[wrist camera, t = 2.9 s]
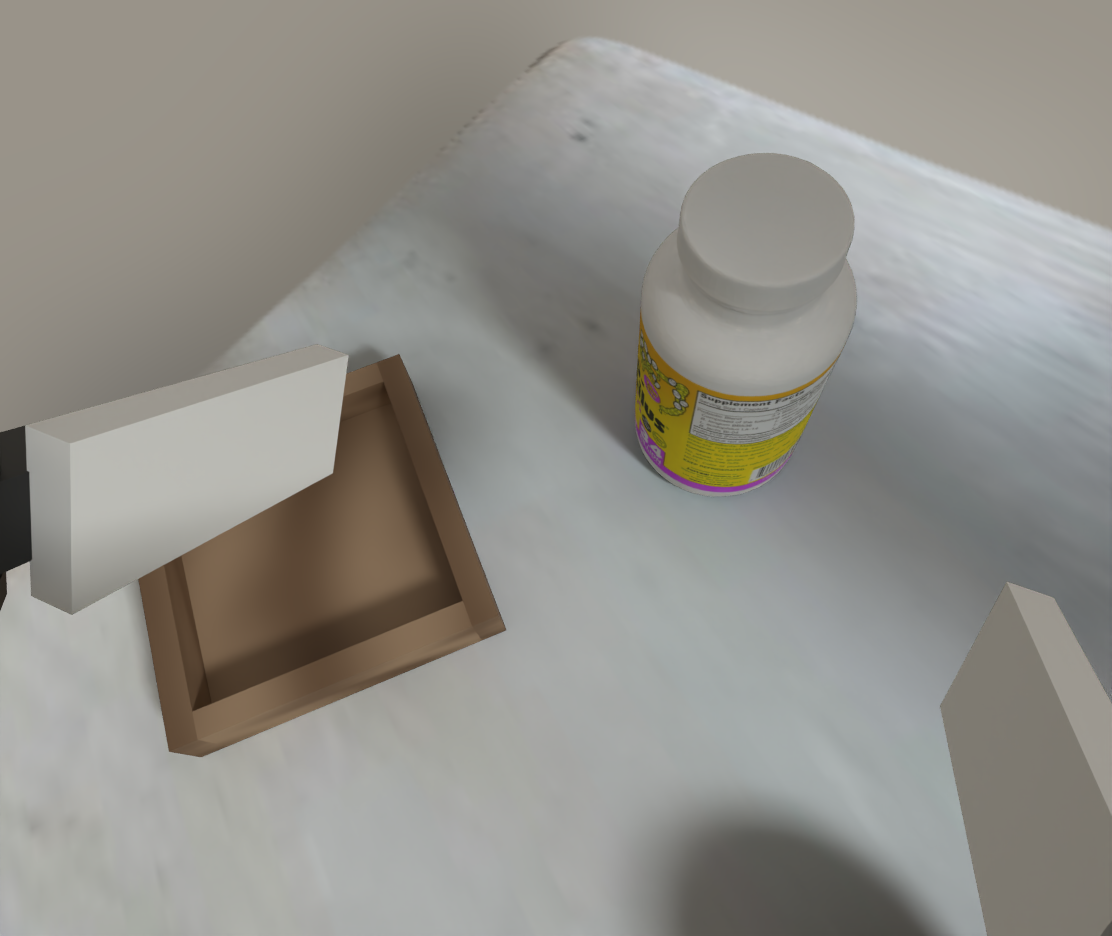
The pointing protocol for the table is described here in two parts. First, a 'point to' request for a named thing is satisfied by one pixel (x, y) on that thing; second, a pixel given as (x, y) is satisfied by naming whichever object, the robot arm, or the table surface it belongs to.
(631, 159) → the table surface
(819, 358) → the supplement bottle
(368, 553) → the walnut tray
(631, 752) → the table surface
